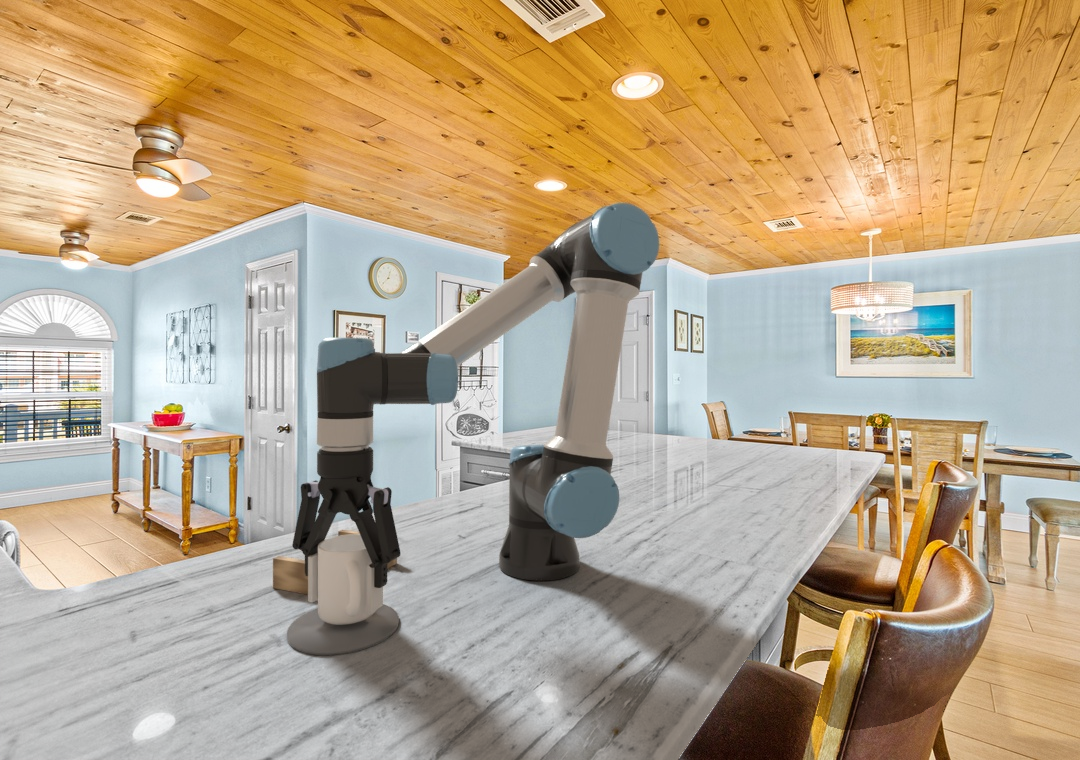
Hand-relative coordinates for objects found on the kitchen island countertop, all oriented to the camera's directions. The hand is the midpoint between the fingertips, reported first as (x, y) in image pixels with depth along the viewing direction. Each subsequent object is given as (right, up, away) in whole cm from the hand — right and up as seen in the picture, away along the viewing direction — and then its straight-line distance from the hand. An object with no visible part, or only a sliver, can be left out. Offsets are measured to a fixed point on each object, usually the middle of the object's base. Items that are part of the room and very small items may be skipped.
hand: (345, 603), depth 79 cm
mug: (+1, -2, 0) cm, 2 cm away
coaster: (0, -3, 0) cm, 4 cm away
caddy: (-8, -3, +20) cm, 22 cm away
